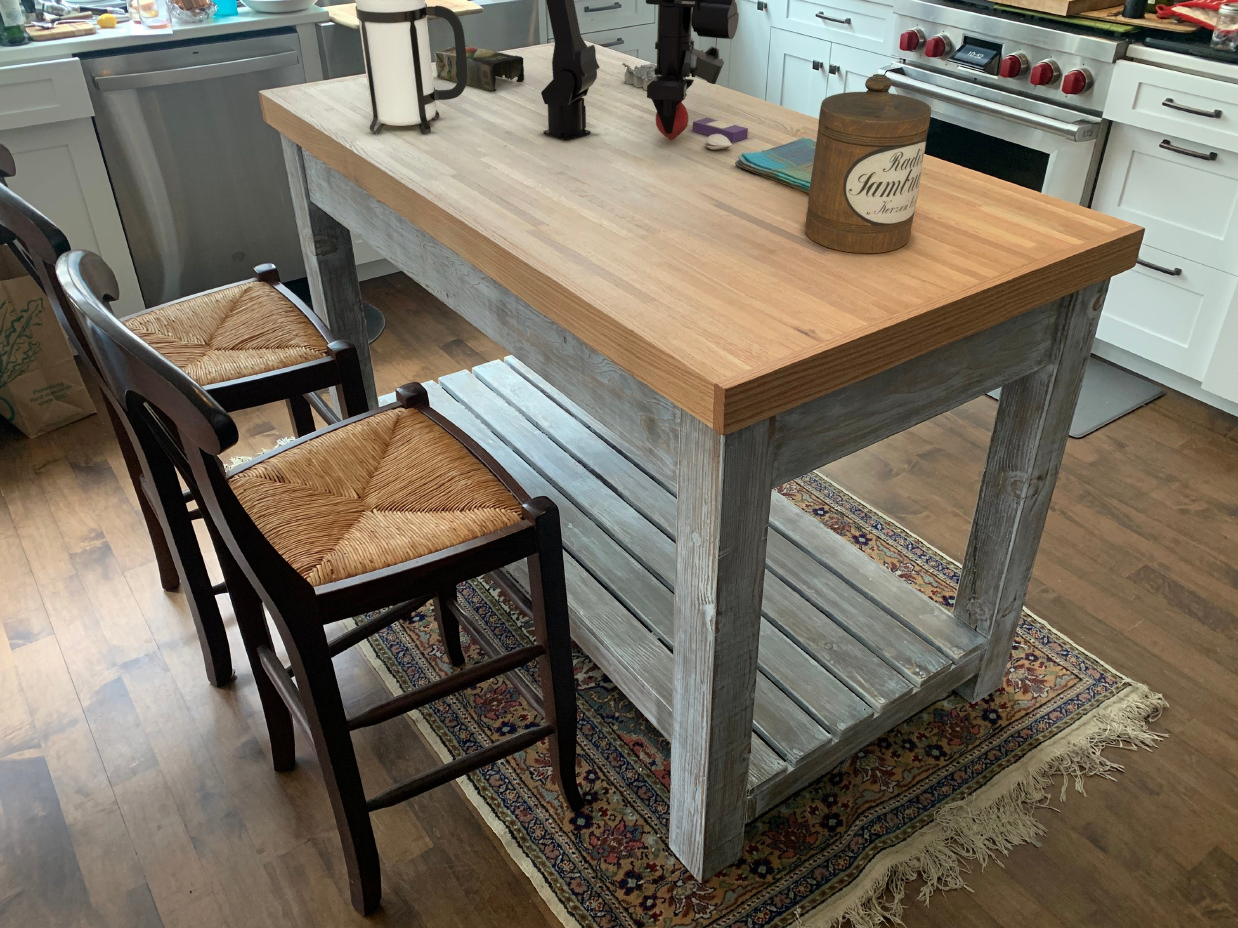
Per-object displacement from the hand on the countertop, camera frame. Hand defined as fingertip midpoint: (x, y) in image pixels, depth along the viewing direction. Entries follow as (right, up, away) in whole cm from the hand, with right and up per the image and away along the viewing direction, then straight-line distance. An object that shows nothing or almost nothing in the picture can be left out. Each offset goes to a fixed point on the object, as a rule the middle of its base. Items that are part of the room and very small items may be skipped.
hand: (671, 128), depth 174 cm
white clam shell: (+9, -4, +1) cm, 9 cm away
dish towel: (+24, -12, -11) cm, 29 cm away
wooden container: (+25, -26, -32) cm, 48 cm away
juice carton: (-40, +24, +41) cm, 62 cm away
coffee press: (-48, +5, +13) cm, 51 cm away
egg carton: (-3, +22, +39) cm, 45 cm away
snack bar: (+9, +2, +8) cm, 13 cm away
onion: (0, -2, +1) cm, 2 cm away
